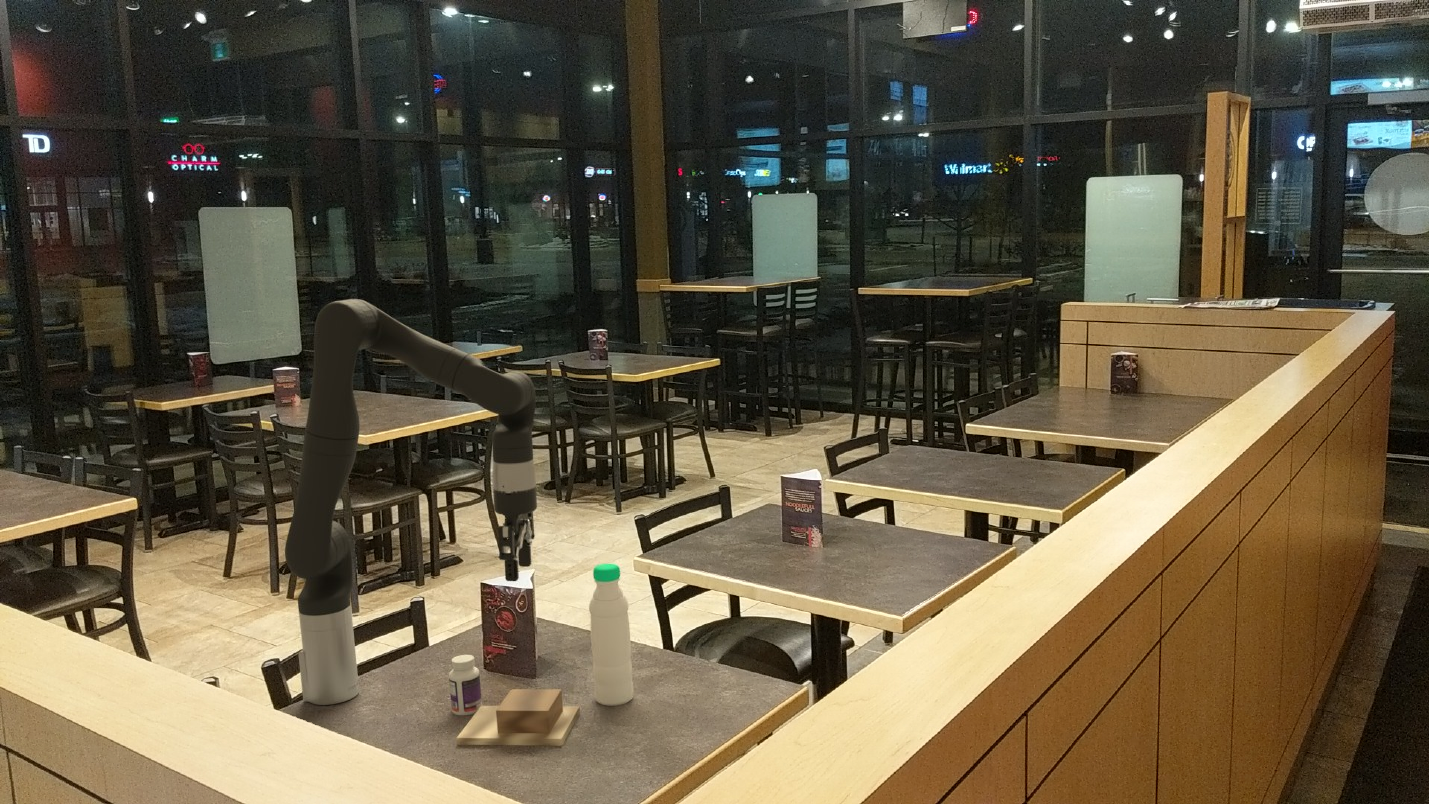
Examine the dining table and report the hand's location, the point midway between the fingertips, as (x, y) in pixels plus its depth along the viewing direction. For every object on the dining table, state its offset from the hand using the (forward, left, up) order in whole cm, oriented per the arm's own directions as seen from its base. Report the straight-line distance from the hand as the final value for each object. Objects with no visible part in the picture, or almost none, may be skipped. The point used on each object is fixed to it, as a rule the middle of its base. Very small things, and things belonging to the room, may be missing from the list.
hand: (518, 573), depth 207 cm
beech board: (+2, -12, -24) cm, 27 cm away
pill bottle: (-10, -4, -24) cm, 27 cm away
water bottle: (+16, +1, -24) cm, 29 cm away
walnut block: (+4, -12, -23) cm, 26 cm away
